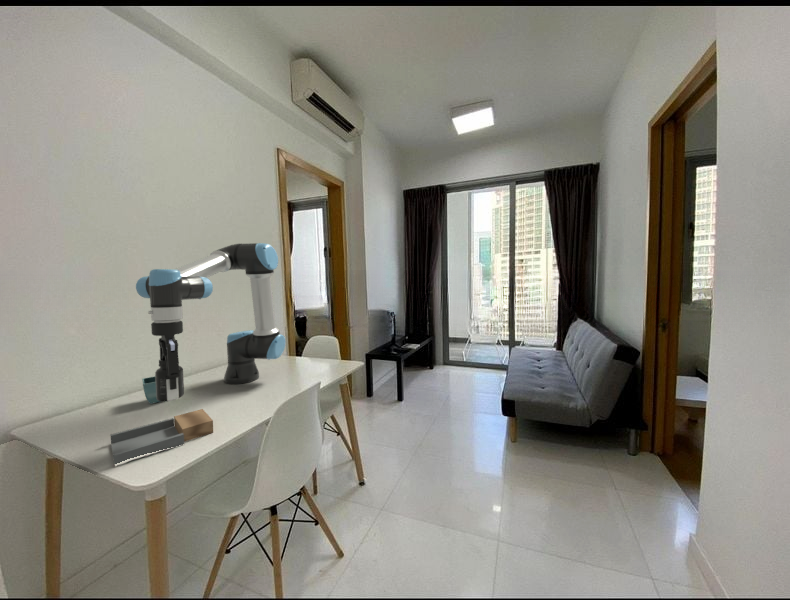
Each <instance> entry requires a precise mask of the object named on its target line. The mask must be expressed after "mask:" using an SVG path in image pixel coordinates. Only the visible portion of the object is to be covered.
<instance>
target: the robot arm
mask: <svg viewBox="0 0 790 600" xmlns="http://www.w3.org/2000/svg"><path fill="white" fill-rule="evenodd" d="M278 256H279V255H278V253H277V251H276V249H275V248H274V247H273V246H272V245H271V244H270V243H262V242H259V243H257V242H255V243H250V242H249V243H235V244H230V245H227V246H224V247H222V248H219V249H216V250H214V251H211V253H210V254H209V255H207V256H205V257H203V258H200V259H196V260H194V261H192V262H189V263H186V264H184V265H182V266H179V267H176V268H174V269H170V268H169V269H166V268H165V269H162V268H154V269H153V268H152V269H151V270H150V271H149V275H148V276H142V277H140V278H139V279H138V280H137V281H136V283H135V289H136V292H137V294H138V295H139V296H140V297H141V298H142V299H143V298H144V299H149V302H150V303H149V304H150V310H148V311H147V313H148V314H149V315H150V319H151V321H153V322H151V324H150V325H151V326H150V328H151V335H153V336H156V337H159V336H160V338H158V345H159V360H160V359H163V358H165V361H166V370H167V377H165V378H164V380H166V385H167V401H166V402H170V400H171V401H175V400H179V399H180V398H179V389H178V377H179V376H180V374H179V366H180V362H179V361H180V360H179V361H178V358H179V343H178V339H176V337H175V335H180V334H182V333H183V332H184V324H183V320H182V319H183V304H182V303H183V302H182V301H185V300H201V299H206V298H209V296H211V295H212V293H213V292H214V291H213V289H214V287H213V283H212V281H211V280H210V279H209V278H210V277H212V276H214V275H216V274H218V273H226V272H228V271H232V270H233V271H234V270H235V271H236V270H245V271H244V272H245V275H246V276H247V277H249V280H250V289H251V290H250V291H251V298H252V307H253V317H254V326H255V327H254V328H255V329H254V330H253V329H250V330H242V331H237V332H232V333H229V334H228V336H227V337H226V351H227V352H226V353H227V355H226V356H227V366H226V370H225V372H224V373H225V374H224V376H223V382H224V383H225V384H228V385H229V384H231V385H236V384H237V385H241V384H246V383H250V382H254V381H256V380H258V379H259V378H260V371H259V369H258V367H257V364H256V361H255V360H256V359H258V360H268V361H269V360H277V359H279V358H280V357H281V356H282V355H283V353H284V351H285V348H286V343H287V342H286V337H285V336H284V335H283V334H281V333H280V329H279V328H278V327H277V326H276V319H275V317H276V316H275V309H274V308H275V307H274V306H275V305H274V298H273V287H272V279H271V277H272V276H273V274H274V273H275V271H274V270H276V269H277V268H278V264H279V258H278ZM172 373H173V374H172Z"/></svg>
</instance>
